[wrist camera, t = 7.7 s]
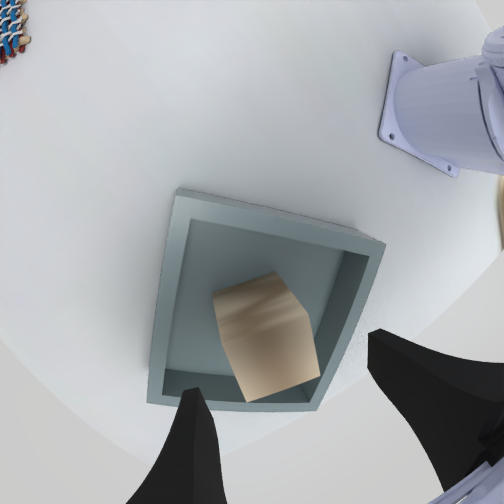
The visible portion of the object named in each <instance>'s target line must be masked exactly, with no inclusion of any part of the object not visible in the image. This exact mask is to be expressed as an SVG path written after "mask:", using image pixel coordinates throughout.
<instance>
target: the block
mask: <svg viewBox="0 0 504 504" xmlns="http://www.w3.org/2000/svg"><path fill="white" fill-rule="evenodd" d="M211 294H212V299H213V304H214V309H215V314H216V319H217V324H218V329H219V333H220V338H221V343H222V346H223V348H224V351H225V353H226V356H227V358H228V360H229V363H230V365H231V367H232V370H233V372H234V375H235V377H236V379H237V382H238V384H239V386H240V388H241V391H242V393H243V395H244V397H245V400H246V402H250V401H253V400H256V399H259V398H262V397H265V396H268V395H271V394H274V393H277V392H279V391H282V390H285V389H288V388H290V387H293V386H296V385H298V384H301V383H304V382H306V381H309V380H311V379H314V378H316V377H319V376H320V371H319V365H318V360H317V354H316V349H315V344H314V339H313V334H312V329H311V324H310V319H309V314H308V313H307V312H306V310H305V309H304V308H303V306H302V305H301V304H300V302H299V301H298V300H297V298H296V297H295V296H294V295H293V293H292V292H291V291H290V289H289V288H288V287H287V285H286V284H285V283H284V282H283V280H282V279H281V278H280V276H279V275H278V274H277V272H273V273H270V274H267V275H264V276H261V277H258V278H255V279H252V280H249V281H246V282H243V283H240V284H237V285H234V286H231V287H228V288H225V289H222V290H219V291H216V292H213V293H211Z"/></svg>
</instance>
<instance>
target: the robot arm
mask: <svg viewBox="0 0 504 504" xmlns="http://www.w3.org/2000/svg"><path fill="white" fill-rule="evenodd" d="M481 52H482V55H480V56H474V57H468V58H463V59H458V60H453V61H448V62H444V63H439V64H435V65H431V66H427V67H425V66H423V65H422V64H420V63H419V62H417V61H416V60H414V59H413V58H411V57H410V56H408V55H407V54H405V53H403V52H402V51H400V50H398V51H395V52H394V54H393V61H392V67H391V73H390V79H389V85H388V90H387V96H386V101H385V106H384V111H383V116H382V121H381V125H380V130H379V137H380V138H381V140H383V141H385V142H387V143H389V144H391V145H393V146H395V147H397V148H399V149H401V150H403V151H405V152H407V153H409V154H411V155H413V156H415V157H417V158H419V159H421V160H423V161H425V162H426V163H428V164H430V165H432V166H434V167H435V168H437V169H439V170H441V171H443V172H444V173H446V174H448V175H449V176H451V177H454V178H456V177H457V176H458V174H459V169H460V168H464V169H470V170H476V171H482V172H488V173H494V174H499V175H504V26H503V27H501V28H499V29H497V30H495V31H493V32H491V33H490V34H489V35H488V36H487V37H486V38H485V41H484V45H483V47H482V49H481ZM403 58H404V59H405V61H404V59H403ZM390 134H391V136H392V138H391V139H390V138H389V135H390ZM367 368H368V370H369V372H370V373H371V375H372V377H373V379H374V380H375V382H376V383H377V385H378V386H379V388H380V389H381V390H382V391H383V392H384V394H385V395H386V396H387V397H388V399H389V400H390V401H391V402H392V403H393V405H395V407H396V408H397V410H398V411H399V412H400V413H401V414H402V415H403V417H404V418H405V419H406V421H407V422H408V423H409V425H410V426H411V428H412V429H413V431H414V433H415V434H416V436H417V437H418V439H419V441H420V443H421V444H422V446H423V448H424V450H425V452H426V453H427V455H428V457H429V459H430V461H431V463H432V465H433V467H434V469H435V471H436V474H437V476H438V478H439V480H440V483H441V485H442V488H443V491H444V493H443V494H442V495H440V496H439V497H437V498H436V499H434V500H433V501H431V502H429V503H428V504H456V503H457V502H458V501H460V500H461V499H462V498H464V497H465V496H466V495H467V497H466V498H465V499H463V500H462V501H461V502H460V503H459V504H504V363H491V362H481V361H473V360H466V359H462V358H458V357H454V356H450V355H446V354H443V353H440V352H437V351H434V350H431V349H428V348H426V347H423V346H420V345H418V344H415V343H413V342H411V341H408V340H406V339H404V338H401V337H399V336H397V335H395V334H392V333H390V332H388V331H385V330H383V329H378V330H375V331H373V332H370V333H368V365H367ZM126 504H227V501H226V497H225V493H224V487H223V480H222V472H221V463H220V453H219V444H218V437H217V433H216V428H215V424H214V419H213V417H212V415H211V413H210V411H209V408H208V406H207V404H206V402H205V400H204V398H203V395H202V393H201V391H200V389H199V387H196V388H192V389H187V390H184V391H183V392H182V395H181V399H180V403H179V406H178V409H177V412H176V415H175V418H174V421H173V424H172V426H171V429H170V432H169V434H168V437H167V439H166V441H165V443H164V446H163V448H162V450H161V452H160V454H159V456H158V458H157V460H156V462H155V464H154V465H153V467H152V469H151V471H150V472H149V473H148V475H147V477H146V478H145V480H144V481H143V483H142V484H141V486H140V487H139V488H138V490H137V491H136V492H135V493H134V495H133V496H132V497H131V498H130V499H129V500H128V502H127V503H126Z"/></svg>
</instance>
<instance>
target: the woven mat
mask: <svg viewBox="0 0 504 504" xmlns="http://www.w3.org/2000/svg"><path fill="white" fill-rule="evenodd" d="M25 2H27V0H0V63H1V64H3V63H4V62H5V60H6V59H7V58H9V57H10V58H11V57H12V56H14V53H16V52H17V51H19V52H20V53H21V52H22V51H24V48H25V44H28V43H29V41H30V36H23V35H22V34H24V33H25V32H26V27H24V28H23V29H21V25H22V24H23V23H24V22H26V19H27V14H23V13H24V9H19V7H20V6H21V5H22V4H24V3H25ZM20 15H21V16H20ZM19 16H20V17H19ZM5 51H6V52H5Z"/></svg>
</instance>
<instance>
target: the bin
mask: <svg viewBox="0 0 504 504" xmlns="http://www.w3.org/2000/svg"><path fill="white" fill-rule="evenodd" d="M385 247H386V244H385V243H383V242H381V241H379V240H377V239H375V238H373V237H371V236H369V235H367V234H365V233H363V232H360V231H358V230H356V229H352V228H348V227H344V226H341V225H337V224H333V223H329V222H325V221H321V220H317V219H313V218H310V217H306V216H301V215H297V214H293V213H289V212H285V211H281V210H277V209H273V208H268V207H264V206H260V205H255V204H251V203H247V202H242V201H238V200H233V199H229V198H224V197H219V196H215V195H210V194H205V193H200V192H196V191H191V190H186V189H181V188H178V190H177V192H176V196H175V200H174V205H173V210H172V215H171V220H170V225H169V230H168V236H167V241H166V247H165V252H164V258H163V264H162V270H161V277H160V283H159V290H158V297H157V304H156V311H155V319H154V327H153V336H152V345H151V355H150V365H149V376H148V389H147V403H151V404H158V405H166V406H174V407H178V406H179V403H180V399H181V395H182V392H183V391H184V390H187V389H192V388H196V387H199V389H200V391H201V393H202V395H203V398H204V400H205V402H206V404H207V406H208V408H209V410H218V411H237V412H304V411H317V409H318V407H319V405H320V403H321V401H322V399H323V397H324V395H325V393H326V391H327V389H328V387H329V385H330V383H331V381H332V379H333V377H334V375H335V373H336V371H337V368H338V366H339V364H340V362H341V360H342V358H343V355H344V353H345V351H346V349H347V347H348V344H349V342H350V340H351V337H352V335H353V333H354V330H355V328H356V326H357V323H358V321H359V318H360V316H361V313H362V311H363V308H364V306H365V303H366V301H367V298H368V295H369V293H370V290H371V287H372V285H373V282H374V279H375V276H376V274H377V271H378V268H379V265H380V262H381V259H382V256H383V253H384V250H385ZM273 272H277V274H278V275H279V276H280V278H281V279H282V280H283V282H284V283H285V284H286V285H287V287H288V288H289V289H290V291H291V292H292V293H293V295H294V296H295V297H296V298H297V300H298V301H299V302H300V304H301V305H302V306H303V308H304V309H305V310H306V312H307V313H308V314H309V319H310V324H311V329H312V334H313V339H314V344H315V349H316V354H317V360H318V365H319V371H320V376H319V377H316V378H314V379H311V380H309V381H306V382H304V383H301V384H298V385H296V386H293V387H290V388H288V389H285V390H282V391H279V392H277V393H274V394H271V395H268V396H265V397H262V398H259V399H256V400H253V401H250V402H246V400H245V397H244V395H243V393H242V391H241V388H240V386H239V384H238V382H237V379H236V377H235V375H234V372H233V370H232V367H231V365H230V363H229V360H228V358H227V356H226V353H225V351H224V348H223V346H222V343H221V338H220V333H219V329H218V324H217V319H216V314H215V309H214V304H213V299H212V294H211V293H213V292H216V291H219V290H222V289H225V288H228V287H231V286H234V285H237V284H240V283H243V282H246V281H249V280H252V279H255V278H258V277H261V276H264V275H267V274H270V273H273Z"/></svg>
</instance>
